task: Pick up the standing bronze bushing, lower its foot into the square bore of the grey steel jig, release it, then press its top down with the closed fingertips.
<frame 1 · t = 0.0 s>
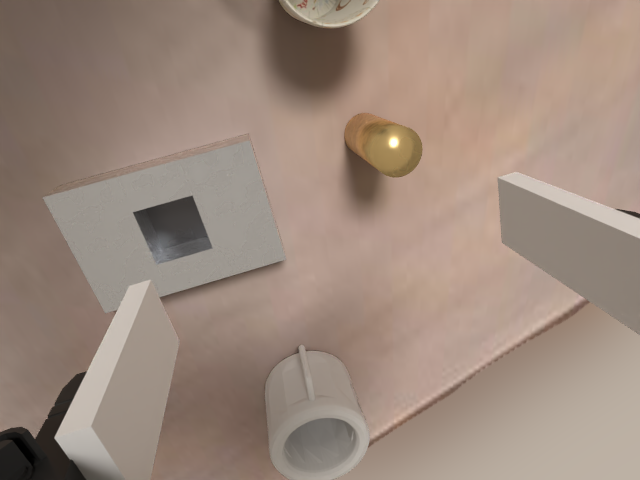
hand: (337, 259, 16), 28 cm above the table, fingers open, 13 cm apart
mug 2: (305, 374, 53), on the table
jig: (179, 216, 42), on the table
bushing: (363, 133, 42), on the table
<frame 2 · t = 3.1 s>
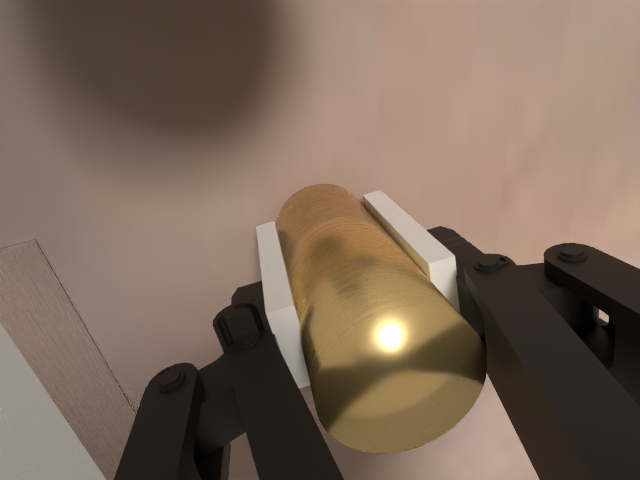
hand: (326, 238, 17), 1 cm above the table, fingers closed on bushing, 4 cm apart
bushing: (321, 228, 18), on the table, touching gripper
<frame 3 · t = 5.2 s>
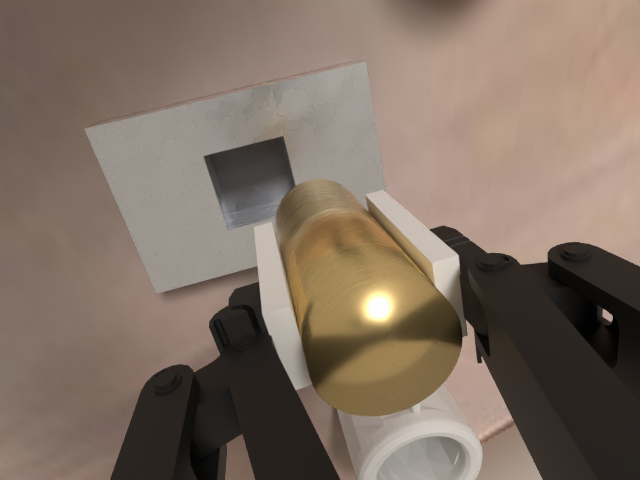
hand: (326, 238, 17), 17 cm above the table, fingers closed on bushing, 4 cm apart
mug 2: (384, 378, 43), on the table
jig: (252, 171, 33), on the table
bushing: (318, 221, 20), point 14 cm above the table, touching gripper
when the fingers open (5 cm above the table, at t = 7.3 s): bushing drops 2 cm, resting on jig.
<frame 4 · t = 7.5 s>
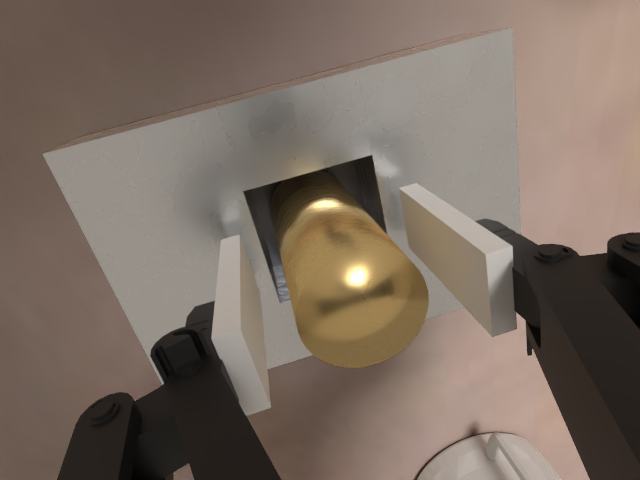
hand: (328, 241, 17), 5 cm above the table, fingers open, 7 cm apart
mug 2: (473, 466, 32), on the table
jig: (309, 204, 22), on the table
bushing: (309, 208, 21), resting on jig
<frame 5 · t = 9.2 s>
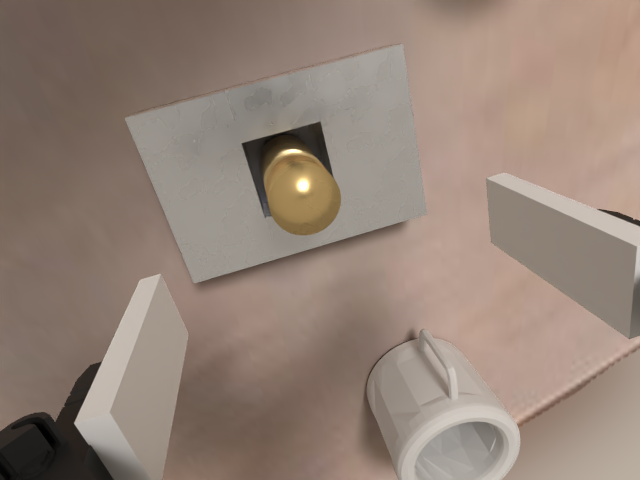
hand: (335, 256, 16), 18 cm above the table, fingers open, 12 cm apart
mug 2: (414, 367, 43), on the table
jig: (285, 159, 32), on the table
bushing: (285, 161, 32), resting on jig
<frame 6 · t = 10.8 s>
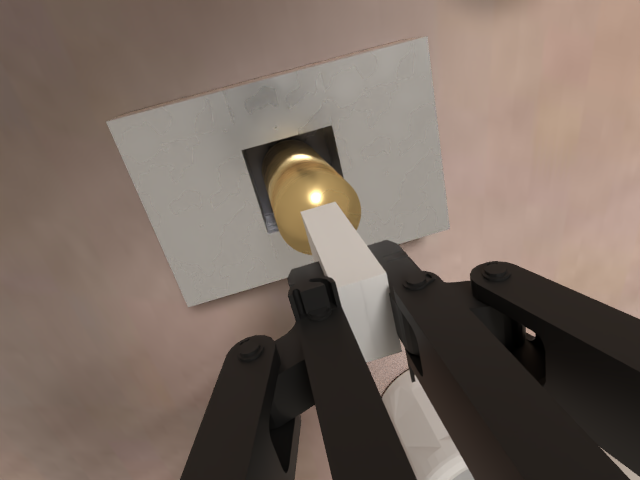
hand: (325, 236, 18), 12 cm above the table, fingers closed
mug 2: (429, 389, 40), on the table
jig: (291, 166, 29), on the table
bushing: (291, 169, 29), resting on jig
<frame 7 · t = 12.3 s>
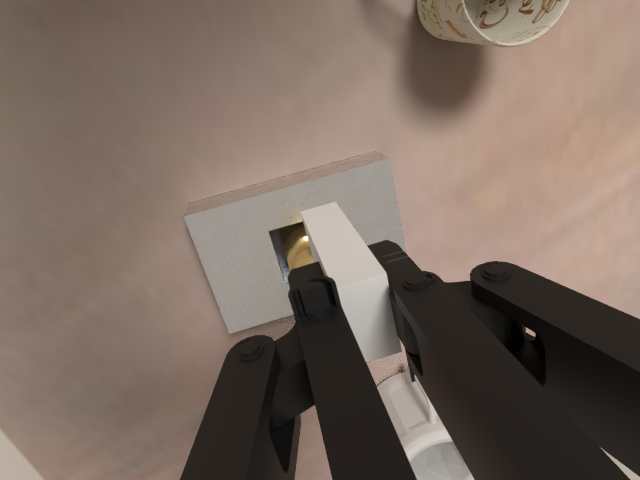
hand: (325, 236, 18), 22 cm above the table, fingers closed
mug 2: (404, 394, 52), on the table
jig: (300, 234, 41), on the table
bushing: (300, 236, 41), resting on jig
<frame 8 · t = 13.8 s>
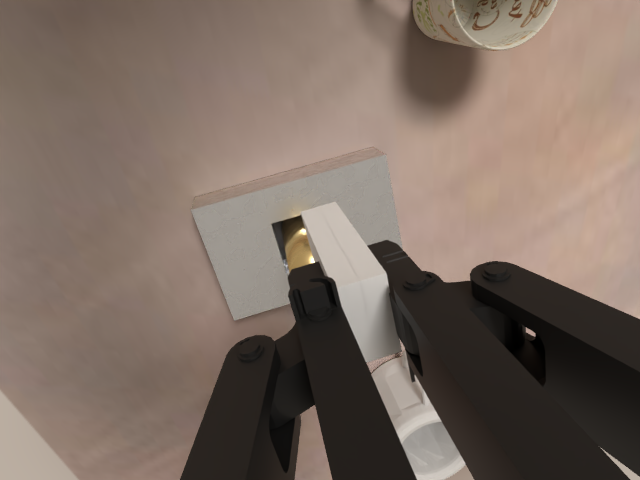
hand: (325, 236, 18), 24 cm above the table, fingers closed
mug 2: (400, 378, 54), on the table
jig: (300, 226, 44), on the table
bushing: (300, 228, 43), resting on jig
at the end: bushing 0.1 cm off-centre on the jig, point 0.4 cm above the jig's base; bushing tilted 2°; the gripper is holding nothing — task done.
